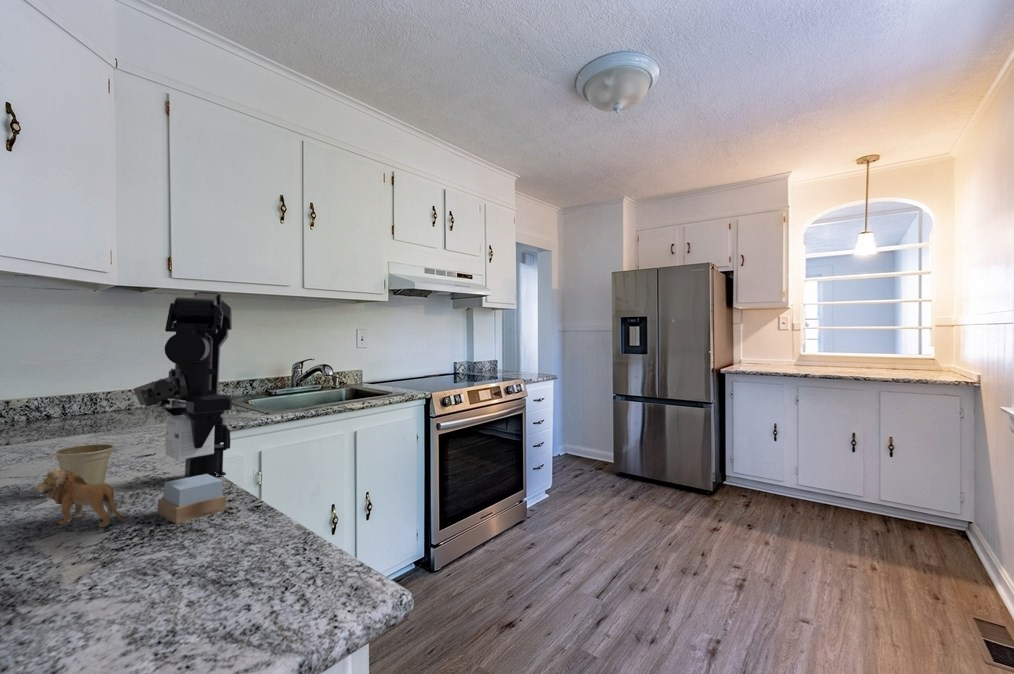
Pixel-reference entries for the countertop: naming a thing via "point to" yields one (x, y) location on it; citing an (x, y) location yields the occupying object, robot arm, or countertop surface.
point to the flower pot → (86, 461)
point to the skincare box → (184, 439)
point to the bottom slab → (190, 509)
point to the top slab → (193, 489)
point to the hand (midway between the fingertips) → (190, 445)
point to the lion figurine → (78, 495)
